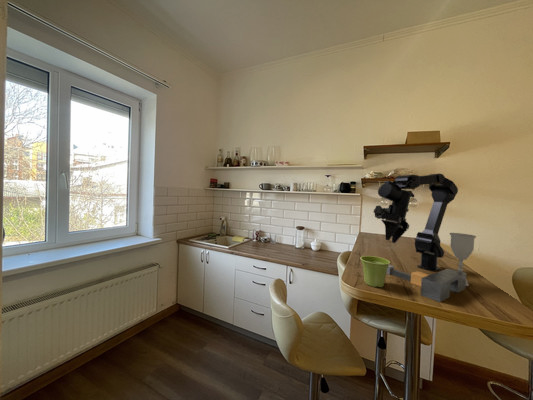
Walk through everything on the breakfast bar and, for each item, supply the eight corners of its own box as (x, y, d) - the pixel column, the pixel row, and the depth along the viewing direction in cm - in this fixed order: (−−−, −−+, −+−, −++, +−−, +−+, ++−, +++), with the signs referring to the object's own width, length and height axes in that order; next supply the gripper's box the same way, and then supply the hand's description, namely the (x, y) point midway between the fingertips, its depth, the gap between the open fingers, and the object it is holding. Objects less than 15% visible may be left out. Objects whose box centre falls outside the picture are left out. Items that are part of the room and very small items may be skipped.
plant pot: (354, 282, 74) (355, 258, 74) (366, 276, 80) (367, 254, 80) (381, 292, 67) (383, 265, 67) (393, 285, 73) (394, 260, 73)
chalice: (472, 283, 77) (475, 235, 77) (474, 288, 72) (477, 237, 72) (446, 277, 82) (449, 232, 82) (446, 282, 77) (449, 234, 76)
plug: (381, 272, 85) (381, 263, 85) (387, 270, 87) (387, 262, 87) (427, 288, 71) (427, 278, 71) (433, 285, 73) (433, 276, 73)
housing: (447, 283, 76) (448, 268, 76) (465, 288, 72) (466, 273, 72) (420, 294, 66) (421, 277, 66) (439, 302, 62) (440, 283, 62)
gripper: (385, 206, 97) (376, 238, 96) (371, 195, 84) (361, 232, 83) (413, 211, 89) (404, 246, 88) (403, 199, 76) (392, 240, 75)
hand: (390, 241), depth 84 cm, fingers open, 9 cm apart
